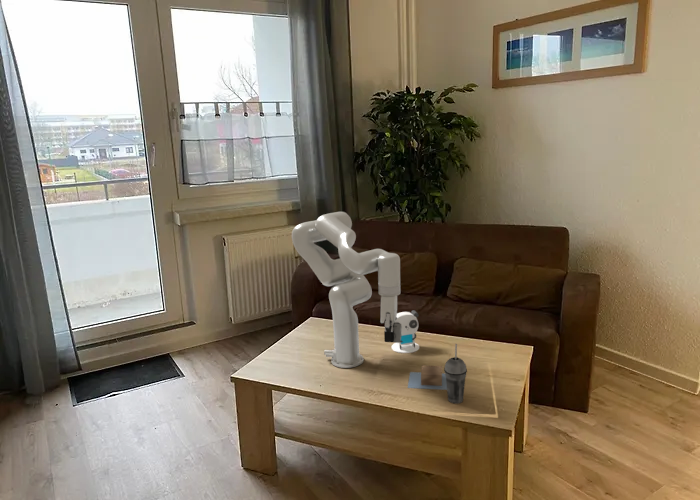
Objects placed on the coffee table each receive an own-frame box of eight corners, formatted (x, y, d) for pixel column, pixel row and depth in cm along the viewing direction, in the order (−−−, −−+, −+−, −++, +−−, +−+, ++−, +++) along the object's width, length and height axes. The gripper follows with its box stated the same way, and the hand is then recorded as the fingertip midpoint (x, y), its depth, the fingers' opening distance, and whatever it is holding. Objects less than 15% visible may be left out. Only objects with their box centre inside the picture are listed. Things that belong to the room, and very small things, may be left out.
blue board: (407, 390, 181) (407, 387, 181) (410, 374, 193) (410, 372, 193) (455, 392, 178) (455, 390, 178) (454, 376, 190) (454, 373, 190)
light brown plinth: (421, 384, 183) (420, 374, 182) (422, 375, 189) (422, 365, 188) (441, 385, 181) (441, 375, 180) (442, 376, 188) (441, 366, 187)
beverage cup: (442, 406, 170) (441, 348, 165) (446, 395, 177) (446, 339, 172) (465, 409, 167) (465, 351, 163) (468, 398, 174) (468, 342, 169)
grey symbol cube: (387, 336, 189) (387, 323, 187) (401, 337, 188) (401, 323, 186) (385, 342, 184) (385, 328, 183) (399, 342, 183) (399, 329, 182)
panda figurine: (395, 355, 210) (394, 319, 206) (386, 344, 221) (385, 310, 217) (423, 350, 212) (422, 315, 209) (413, 340, 223) (412, 306, 220)
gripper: (381, 281, 190) (382, 328, 195) (375, 296, 174) (376, 348, 178) (402, 282, 189) (402, 329, 193) (397, 297, 173) (398, 349, 177)
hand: (390, 337), depth 186 cm, fingers closed on grey symbol cube, 5 cm apart
